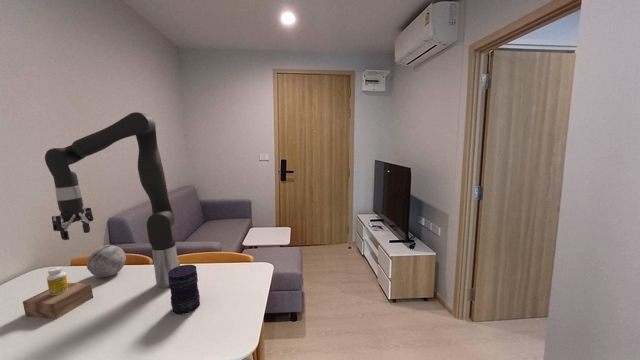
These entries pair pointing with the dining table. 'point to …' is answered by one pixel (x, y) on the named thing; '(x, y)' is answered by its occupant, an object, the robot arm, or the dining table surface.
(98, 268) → the decorative orb
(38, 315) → the walnut block
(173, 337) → the dining table surface
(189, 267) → the storage jar
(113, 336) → the dining table surface
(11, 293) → the dining table surface
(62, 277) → the supplement bottle
